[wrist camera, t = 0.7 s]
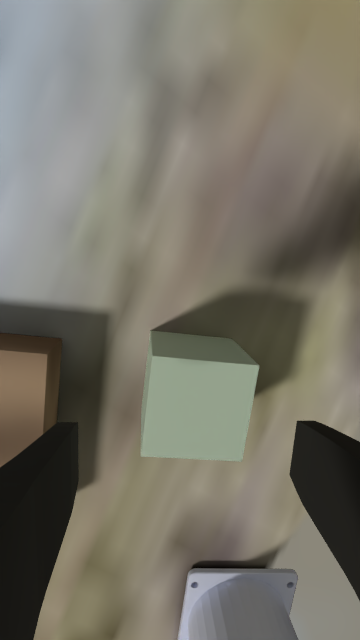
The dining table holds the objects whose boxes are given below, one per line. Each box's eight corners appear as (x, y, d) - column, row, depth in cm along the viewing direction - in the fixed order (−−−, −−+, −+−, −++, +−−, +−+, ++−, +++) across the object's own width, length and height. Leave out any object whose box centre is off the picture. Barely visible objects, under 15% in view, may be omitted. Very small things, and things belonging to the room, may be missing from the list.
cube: (219, 413, 21) (242, 461, 16) (141, 407, 21) (140, 456, 16) (231, 338, 20) (259, 365, 15) (150, 330, 20) (152, 356, 15)
